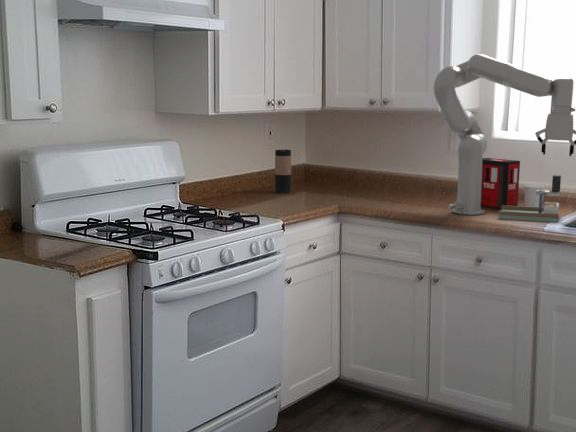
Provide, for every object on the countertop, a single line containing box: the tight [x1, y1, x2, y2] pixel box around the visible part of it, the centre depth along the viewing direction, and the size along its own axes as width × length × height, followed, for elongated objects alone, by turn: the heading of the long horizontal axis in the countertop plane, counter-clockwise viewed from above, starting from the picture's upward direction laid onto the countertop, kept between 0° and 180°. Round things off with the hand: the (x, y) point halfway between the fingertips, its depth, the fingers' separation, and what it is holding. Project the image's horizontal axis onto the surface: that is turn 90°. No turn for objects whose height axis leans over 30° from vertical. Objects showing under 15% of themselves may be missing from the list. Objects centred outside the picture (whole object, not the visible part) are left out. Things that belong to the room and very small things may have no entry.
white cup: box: [524, 184, 545, 207], centre depth 331 cm, size 8×8×10 cm
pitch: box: [498, 205, 560, 223], centre depth 313 cm, size 22×16×3 cm
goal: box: [543, 201, 560, 215], centre depth 311 cm, size 6×11×4 cm, turn 161°
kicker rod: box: [536, 174, 562, 213], centre depth 310 cm, size 9×6×15 cm
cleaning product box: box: [481, 157, 521, 210], centre depth 338 cm, size 16×9×20 cm, turn 43°
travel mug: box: [274, 149, 292, 194], centre depth 377 cm, size 8×8×20 cm
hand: (557, 155), depth 307 cm, fingers open, 9 cm apart
